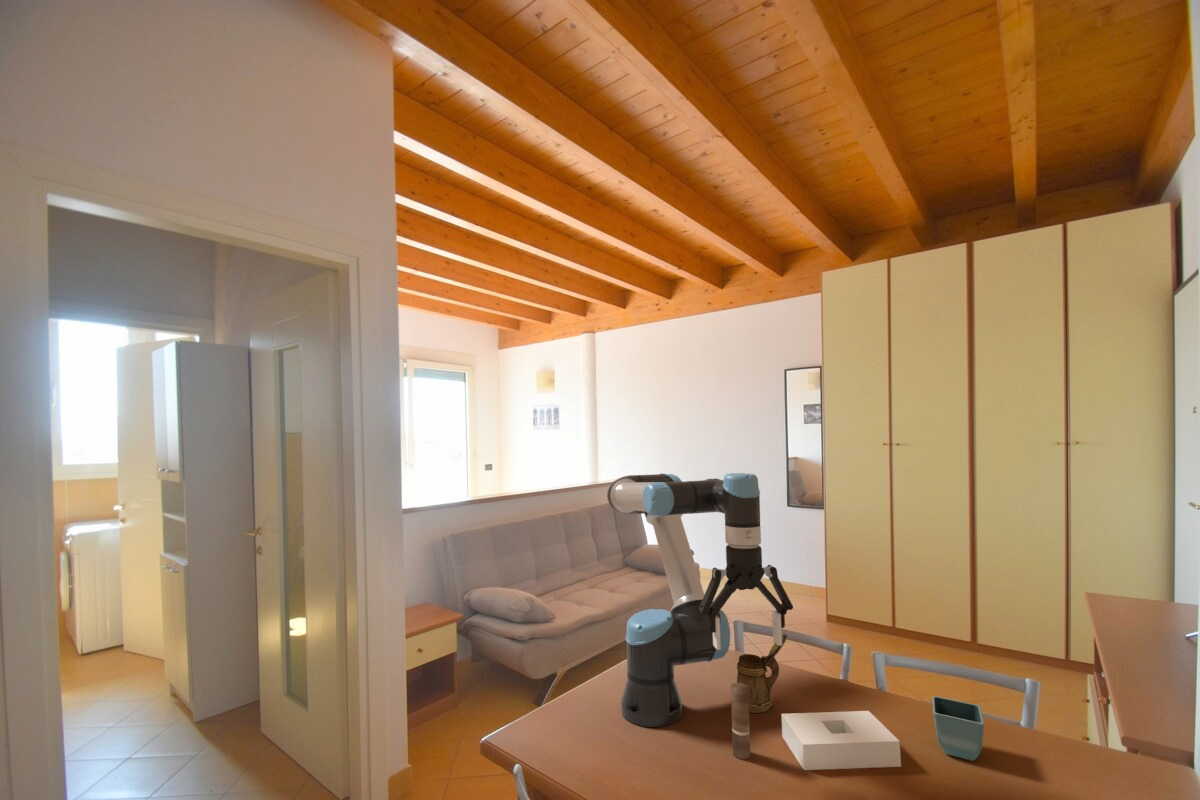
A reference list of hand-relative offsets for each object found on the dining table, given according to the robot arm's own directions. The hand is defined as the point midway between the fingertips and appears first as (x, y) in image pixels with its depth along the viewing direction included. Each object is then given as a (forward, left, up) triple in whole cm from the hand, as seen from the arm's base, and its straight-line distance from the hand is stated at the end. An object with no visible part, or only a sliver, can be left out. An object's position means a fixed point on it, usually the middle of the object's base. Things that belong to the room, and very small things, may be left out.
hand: (747, 645), depth 114 cm
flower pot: (+1, +44, -23) cm, 50 cm away
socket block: (-1, +19, -23) cm, 30 cm away
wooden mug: (-21, +9, -23) cm, 32 cm away
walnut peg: (-1, -2, -23) cm, 23 cm away
